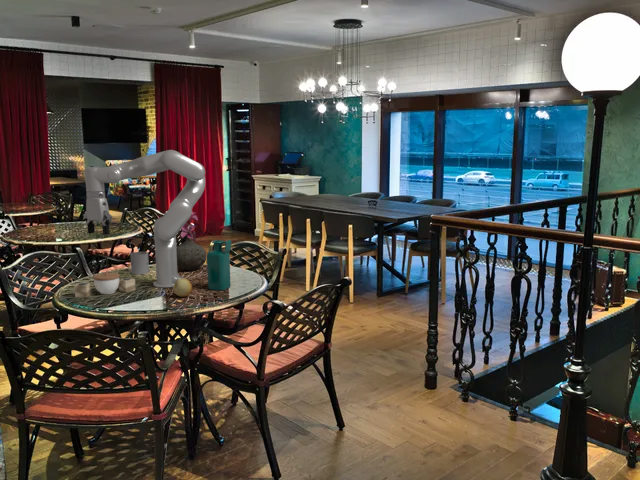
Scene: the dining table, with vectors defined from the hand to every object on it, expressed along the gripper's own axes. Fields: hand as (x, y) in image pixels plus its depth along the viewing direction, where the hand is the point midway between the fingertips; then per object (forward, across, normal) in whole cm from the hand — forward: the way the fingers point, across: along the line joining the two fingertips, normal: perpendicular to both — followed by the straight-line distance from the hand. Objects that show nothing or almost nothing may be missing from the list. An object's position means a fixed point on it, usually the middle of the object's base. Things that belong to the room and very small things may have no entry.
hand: (98, 233), depth 259 cm
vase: (+26, -5, -51) cm, 58 cm away
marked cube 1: (+25, -1, +11) cm, 28 cm away
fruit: (+26, -41, -8) cm, 49 cm away
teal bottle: (+26, -45, -28) cm, 59 cm away
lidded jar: (+26, -6, +3) cm, 27 cm away
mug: (+26, +14, -35) cm, 46 cm away
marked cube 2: (+26, -11, -4) cm, 28 cm away
